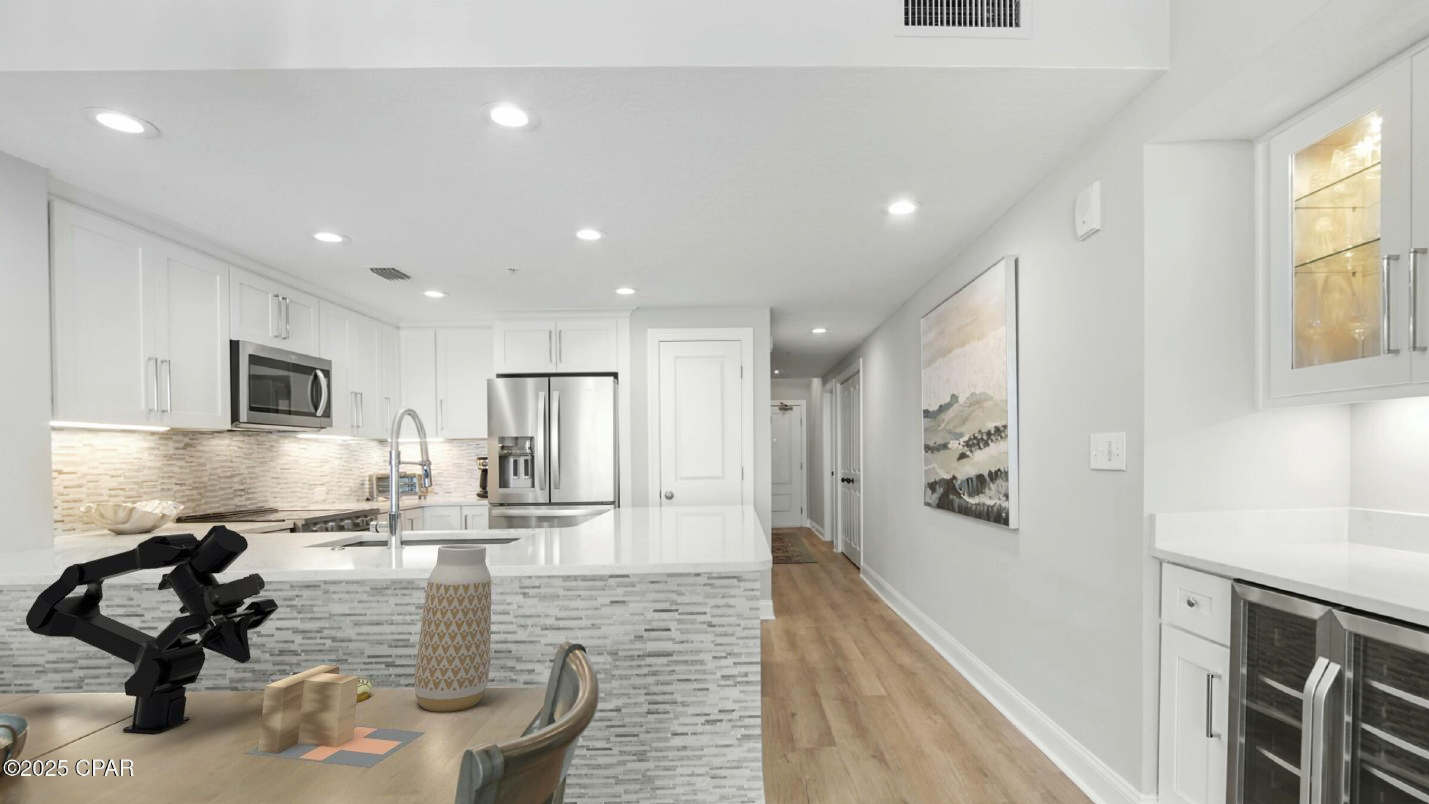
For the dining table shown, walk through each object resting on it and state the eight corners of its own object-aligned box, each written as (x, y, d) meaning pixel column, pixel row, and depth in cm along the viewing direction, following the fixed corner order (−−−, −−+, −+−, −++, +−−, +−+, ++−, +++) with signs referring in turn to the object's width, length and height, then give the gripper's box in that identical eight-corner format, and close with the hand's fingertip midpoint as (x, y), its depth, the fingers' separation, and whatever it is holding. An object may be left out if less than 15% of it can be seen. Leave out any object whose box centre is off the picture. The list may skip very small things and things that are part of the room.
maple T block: (258, 751, 102) (265, 685, 103) (316, 723, 113) (321, 664, 115) (316, 758, 100) (323, 691, 101) (369, 729, 112) (374, 669, 113)
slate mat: (243, 757, 101) (244, 753, 101) (312, 724, 115) (312, 720, 115) (369, 771, 97) (370, 767, 97) (425, 736, 111) (425, 732, 111)
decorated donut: (324, 715, 120) (326, 694, 120) (299, 702, 126) (301, 682, 126) (380, 700, 128) (382, 681, 128) (354, 689, 134) (355, 670, 135)
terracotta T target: (298, 761, 100) (298, 757, 100) (357, 730, 113) (357, 726, 113) (364, 769, 98) (365, 765, 98) (416, 736, 111) (417, 732, 111)
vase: (502, 700, 130) (512, 546, 133) (448, 723, 117) (461, 552, 121) (452, 689, 135) (463, 541, 139) (395, 709, 123) (409, 546, 127)
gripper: (180, 567, 104) (231, 642, 101) (275, 554, 123) (320, 618, 119) (133, 614, 105) (181, 690, 101) (234, 594, 123) (279, 658, 120)
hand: (246, 661), depth 111 cm, fingers closed
